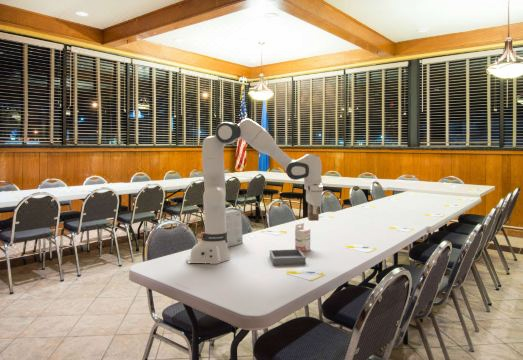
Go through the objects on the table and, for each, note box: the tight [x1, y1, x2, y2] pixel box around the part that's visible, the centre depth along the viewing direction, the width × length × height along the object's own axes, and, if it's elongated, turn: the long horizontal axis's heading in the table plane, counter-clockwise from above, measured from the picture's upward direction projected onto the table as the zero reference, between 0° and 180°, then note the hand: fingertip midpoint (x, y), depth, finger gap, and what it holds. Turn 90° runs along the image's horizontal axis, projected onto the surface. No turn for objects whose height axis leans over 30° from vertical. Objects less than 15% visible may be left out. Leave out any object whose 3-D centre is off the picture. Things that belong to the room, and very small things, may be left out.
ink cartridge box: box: [294, 222, 311, 253], centre depth 225 cm, size 9×5×15 cm, turn 141°
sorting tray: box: [269, 248, 307, 267], centre depth 205 cm, size 16×16×4 cm
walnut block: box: [307, 203, 320, 222], centre depth 206 cm, size 4×4×8 cm
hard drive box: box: [226, 209, 244, 248], centre depth 241 cm, size 16×8×20 cm, turn 135°
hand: (313, 212), depth 206 cm, fingers closed on walnut block, 4 cm apart
